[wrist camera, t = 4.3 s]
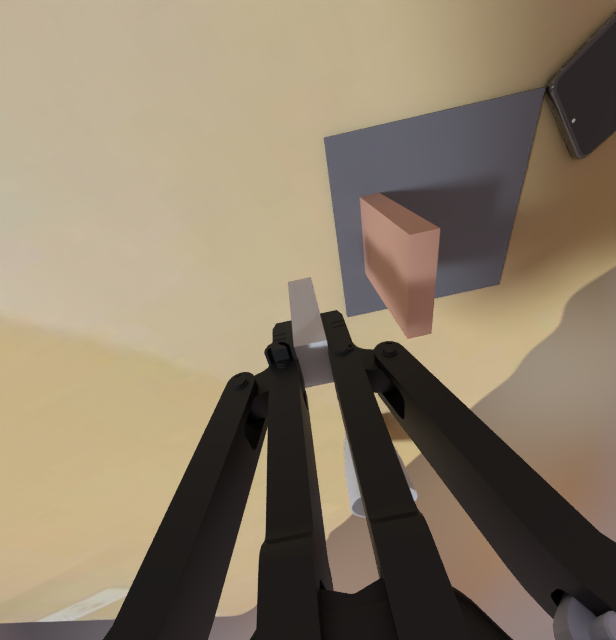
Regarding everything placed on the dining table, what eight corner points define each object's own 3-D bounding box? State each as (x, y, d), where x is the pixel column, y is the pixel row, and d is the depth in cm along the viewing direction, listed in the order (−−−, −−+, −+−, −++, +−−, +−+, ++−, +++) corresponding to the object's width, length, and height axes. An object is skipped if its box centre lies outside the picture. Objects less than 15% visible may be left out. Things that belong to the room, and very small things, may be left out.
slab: (359, 197, 23) (409, 235, 14) (379, 192, 22) (440, 228, 14) (365, 274, 27) (407, 338, 18) (381, 270, 26) (431, 333, 18)
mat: (323, 137, 20) (324, 137, 20) (541, 87, 20) (545, 86, 20) (347, 315, 29) (347, 317, 29) (496, 282, 29) (499, 284, 29)
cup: (399, 424, 42) (430, 496, 34) (359, 450, 45) (379, 522, 36) (364, 404, 38) (389, 479, 30) (323, 434, 41) (336, 509, 33)
